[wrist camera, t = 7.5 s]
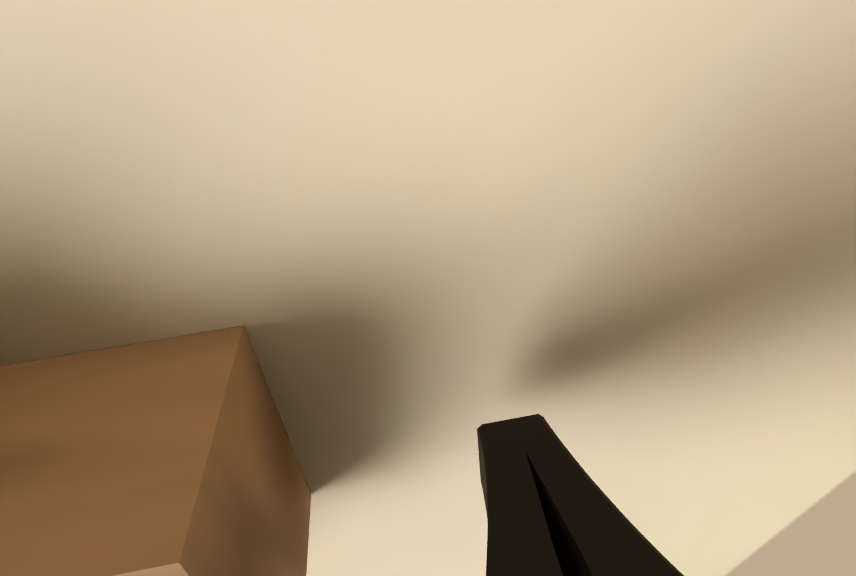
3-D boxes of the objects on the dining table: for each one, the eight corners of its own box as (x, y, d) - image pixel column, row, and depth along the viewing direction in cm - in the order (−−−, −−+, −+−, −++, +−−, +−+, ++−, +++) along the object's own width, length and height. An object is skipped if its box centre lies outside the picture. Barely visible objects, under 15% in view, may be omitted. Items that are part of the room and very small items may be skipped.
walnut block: (311, 490, 14) (297, 717, 10) (127, 525, 13) (33, 774, 9) (244, 322, 10) (179, 562, 6) (-3, 363, 10) (-243, 644, 6)
